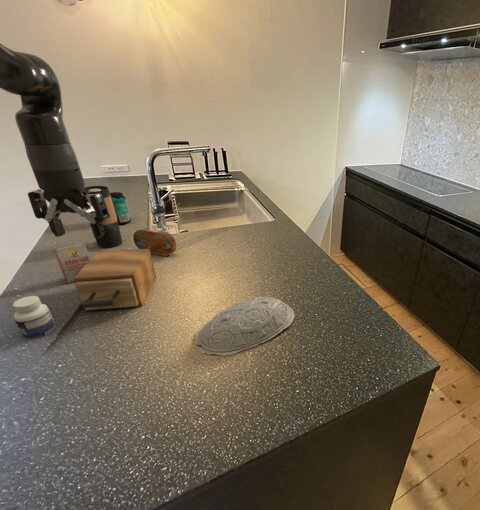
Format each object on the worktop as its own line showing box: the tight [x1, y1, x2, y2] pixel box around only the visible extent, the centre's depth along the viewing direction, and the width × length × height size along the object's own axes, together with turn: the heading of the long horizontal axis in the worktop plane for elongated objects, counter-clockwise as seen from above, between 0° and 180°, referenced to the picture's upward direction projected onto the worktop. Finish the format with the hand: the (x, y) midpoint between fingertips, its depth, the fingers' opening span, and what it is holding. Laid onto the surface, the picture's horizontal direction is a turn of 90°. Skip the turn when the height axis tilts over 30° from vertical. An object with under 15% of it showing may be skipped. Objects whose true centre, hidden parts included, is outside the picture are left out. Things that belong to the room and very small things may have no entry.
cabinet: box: [73, 248, 157, 312], centre depth 82 cm, size 15×13×10 cm
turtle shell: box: [194, 296, 295, 357], centre depth 75 cm, size 16×25×7 cm, turn 131°
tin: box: [132, 227, 177, 257], centre depth 104 cm, size 15×3×8 cm, turn 76°
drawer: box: [74, 277, 139, 311], centre depth 79 cm, size 19×11×8 cm, turn 15°
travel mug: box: [84, 185, 123, 249], centre depth 104 cm, size 8×8×20 cm
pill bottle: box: [12, 295, 57, 340], centre depth 66 cm, size 5×5×10 cm
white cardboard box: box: [53, 243, 92, 285], centre depth 87 cm, size 4×7×10 cm, turn 134°
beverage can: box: [110, 191, 132, 226], centre depth 123 cm, size 7×7×12 cm
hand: (80, 236), depth 71 cm, fingers open, 8 cm apart
